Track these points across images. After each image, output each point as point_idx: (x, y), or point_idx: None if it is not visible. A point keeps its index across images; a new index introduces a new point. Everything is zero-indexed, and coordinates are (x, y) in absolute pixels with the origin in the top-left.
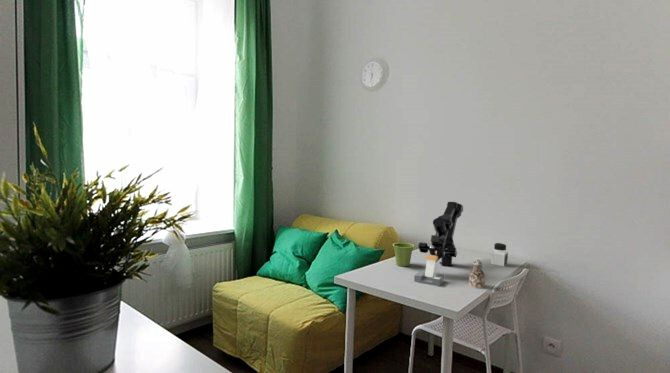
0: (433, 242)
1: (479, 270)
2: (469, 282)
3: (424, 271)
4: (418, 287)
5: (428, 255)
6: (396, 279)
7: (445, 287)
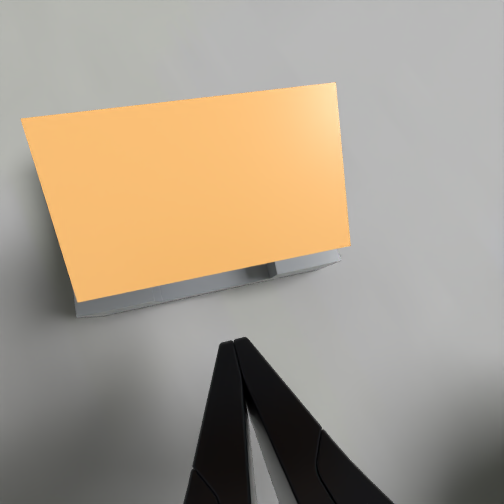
0: None
1: None
2: None
3: (295, 263)
4: (192, 39)
5: (277, 99)
6: (391, 86)
7: (25, 163)
